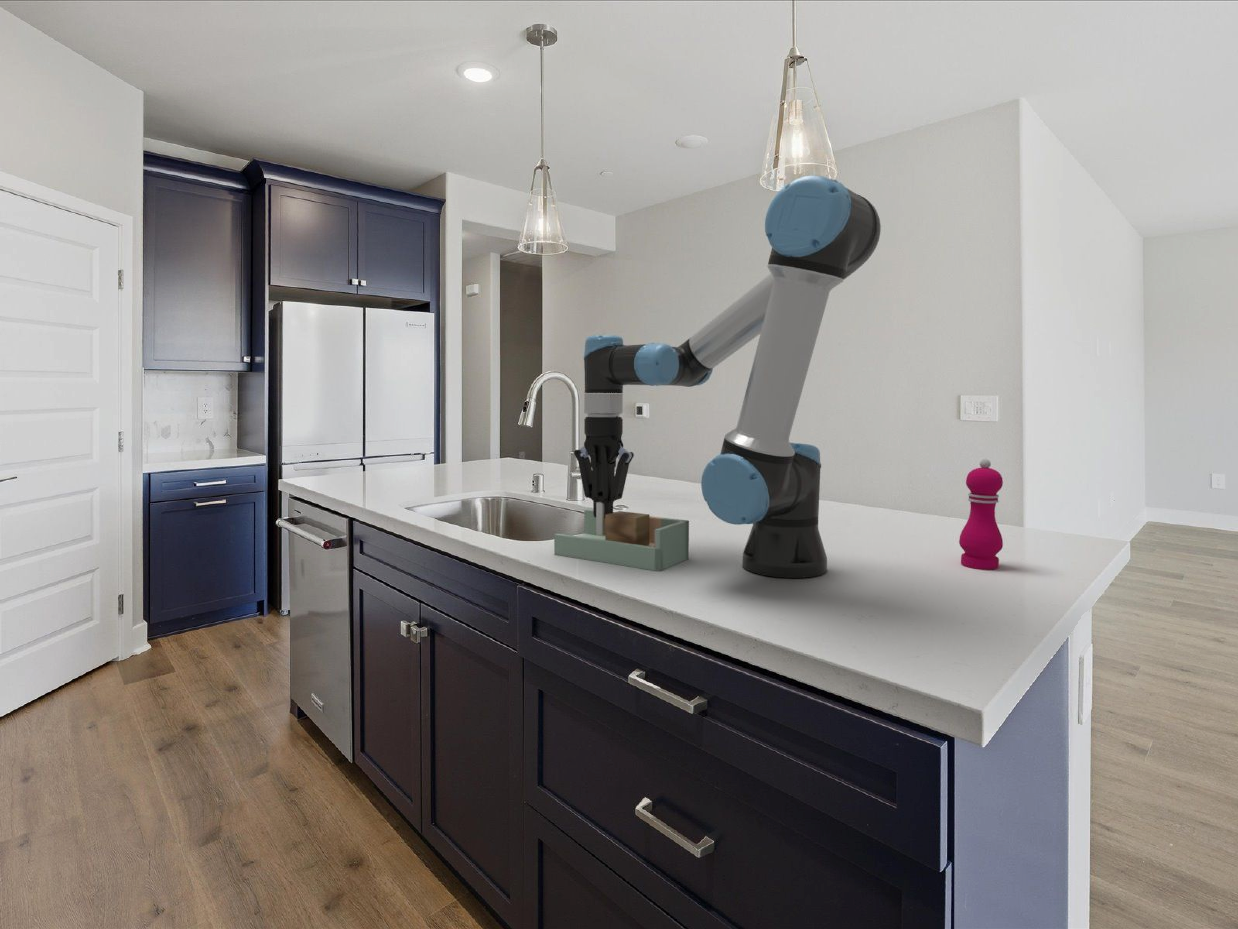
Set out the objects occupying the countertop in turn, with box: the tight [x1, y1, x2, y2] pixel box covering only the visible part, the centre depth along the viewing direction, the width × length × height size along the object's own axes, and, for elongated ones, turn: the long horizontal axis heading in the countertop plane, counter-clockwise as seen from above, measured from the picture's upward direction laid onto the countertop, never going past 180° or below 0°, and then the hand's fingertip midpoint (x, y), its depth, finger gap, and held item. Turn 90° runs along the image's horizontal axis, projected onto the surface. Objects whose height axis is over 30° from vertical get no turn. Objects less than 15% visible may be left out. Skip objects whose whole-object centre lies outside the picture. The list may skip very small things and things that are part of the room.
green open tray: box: [553, 508, 690, 572], centre depth 134 cm, size 24×12×8 cm, turn 57°
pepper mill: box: [958, 458, 1004, 571], centre depth 127 cm, size 7×7×20 cm
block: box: [605, 510, 650, 546], centre depth 133 cm, size 7×5×6 cm
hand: (603, 534), depth 136 cm, fingers closed
